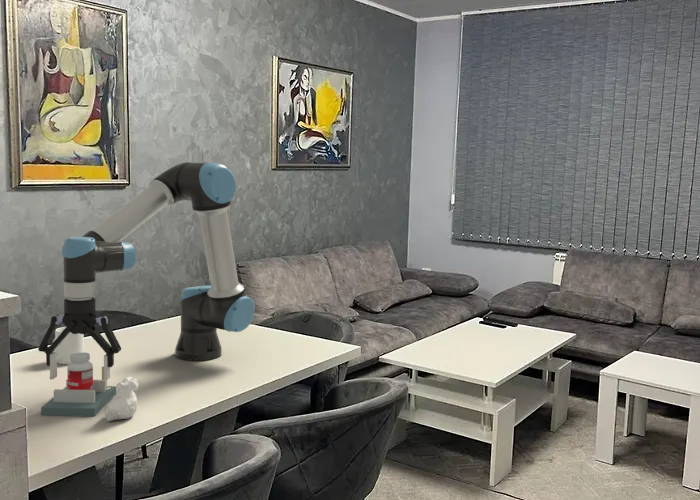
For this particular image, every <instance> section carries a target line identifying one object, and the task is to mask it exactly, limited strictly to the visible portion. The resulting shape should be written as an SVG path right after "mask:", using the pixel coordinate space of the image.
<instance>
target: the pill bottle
mask: <svg viewBox="0 0 700 500" xmlns="http://www.w3.org/2000/svg"><path fill="white" fill-rule="evenodd" d="M90 357H91V356H90V353H88V352H84V353H83V352H80V353H73V354H71V355H70V360H71V363H70V364H68V365H67V379H68V390H93V380H94V365H93V363H92V362H91V361H90V359H91V358H90Z"/></svg>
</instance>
